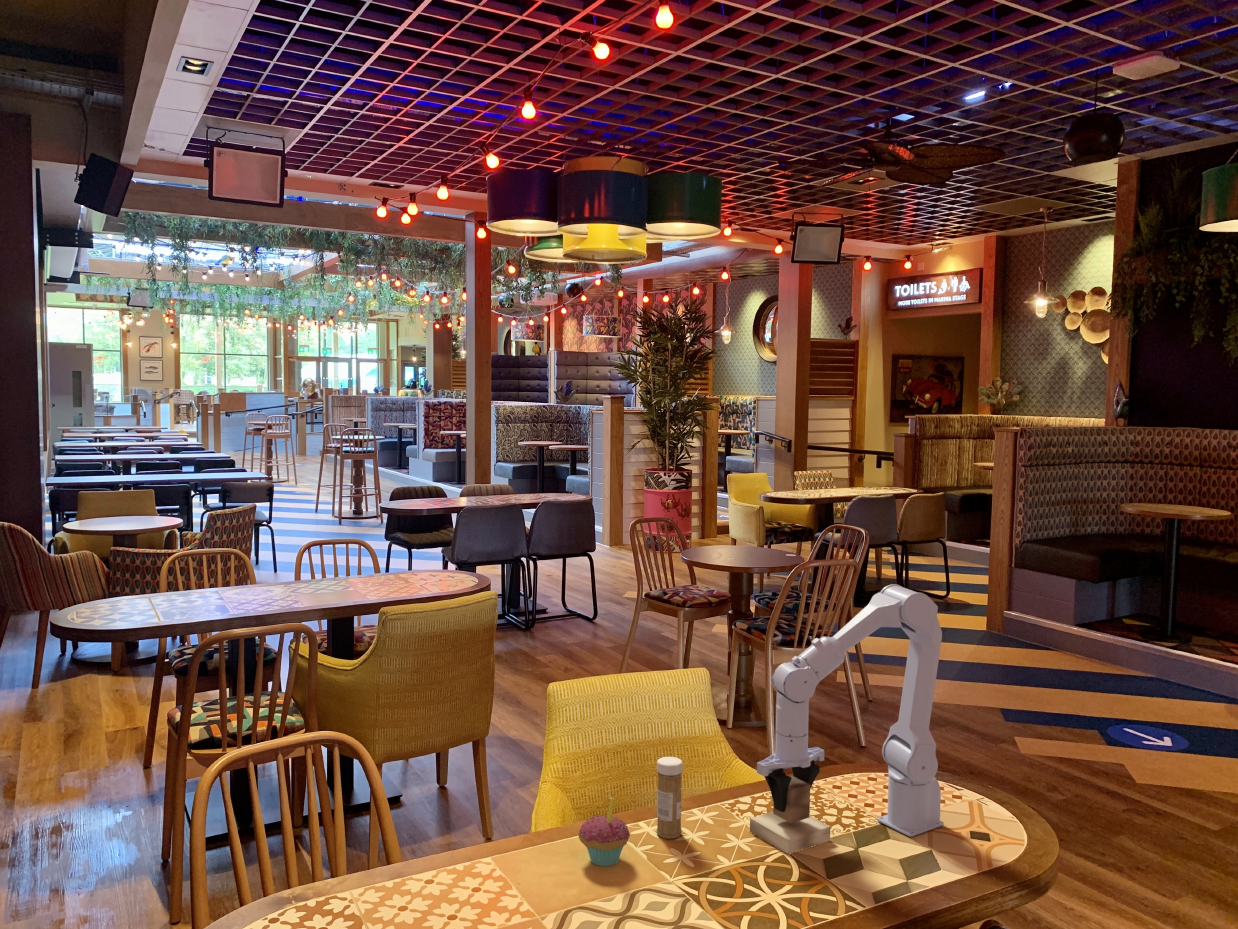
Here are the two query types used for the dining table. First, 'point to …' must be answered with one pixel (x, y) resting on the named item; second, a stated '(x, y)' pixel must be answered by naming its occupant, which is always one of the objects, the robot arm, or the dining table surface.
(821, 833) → the birch block
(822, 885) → the dining table surface
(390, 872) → the dining table surface
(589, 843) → the cupcake
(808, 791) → the walnut block
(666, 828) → the sprinkles bottle
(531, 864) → the dining table surface
